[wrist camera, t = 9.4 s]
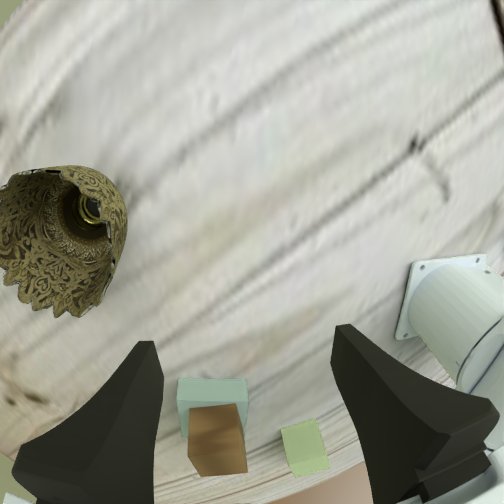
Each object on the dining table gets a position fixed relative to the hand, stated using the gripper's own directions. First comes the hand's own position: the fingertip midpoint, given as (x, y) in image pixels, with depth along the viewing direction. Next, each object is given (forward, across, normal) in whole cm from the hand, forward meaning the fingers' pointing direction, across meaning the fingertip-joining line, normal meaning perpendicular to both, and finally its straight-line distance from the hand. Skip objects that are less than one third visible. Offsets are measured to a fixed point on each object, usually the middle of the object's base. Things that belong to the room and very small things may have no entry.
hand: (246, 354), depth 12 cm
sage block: (+10, -6, +23) cm, 26 cm away
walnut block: (+8, +3, +15) cm, 17 cm away
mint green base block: (+11, +3, +15) cm, 19 cm away
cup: (+11, +9, -4) cm, 14 cm away
